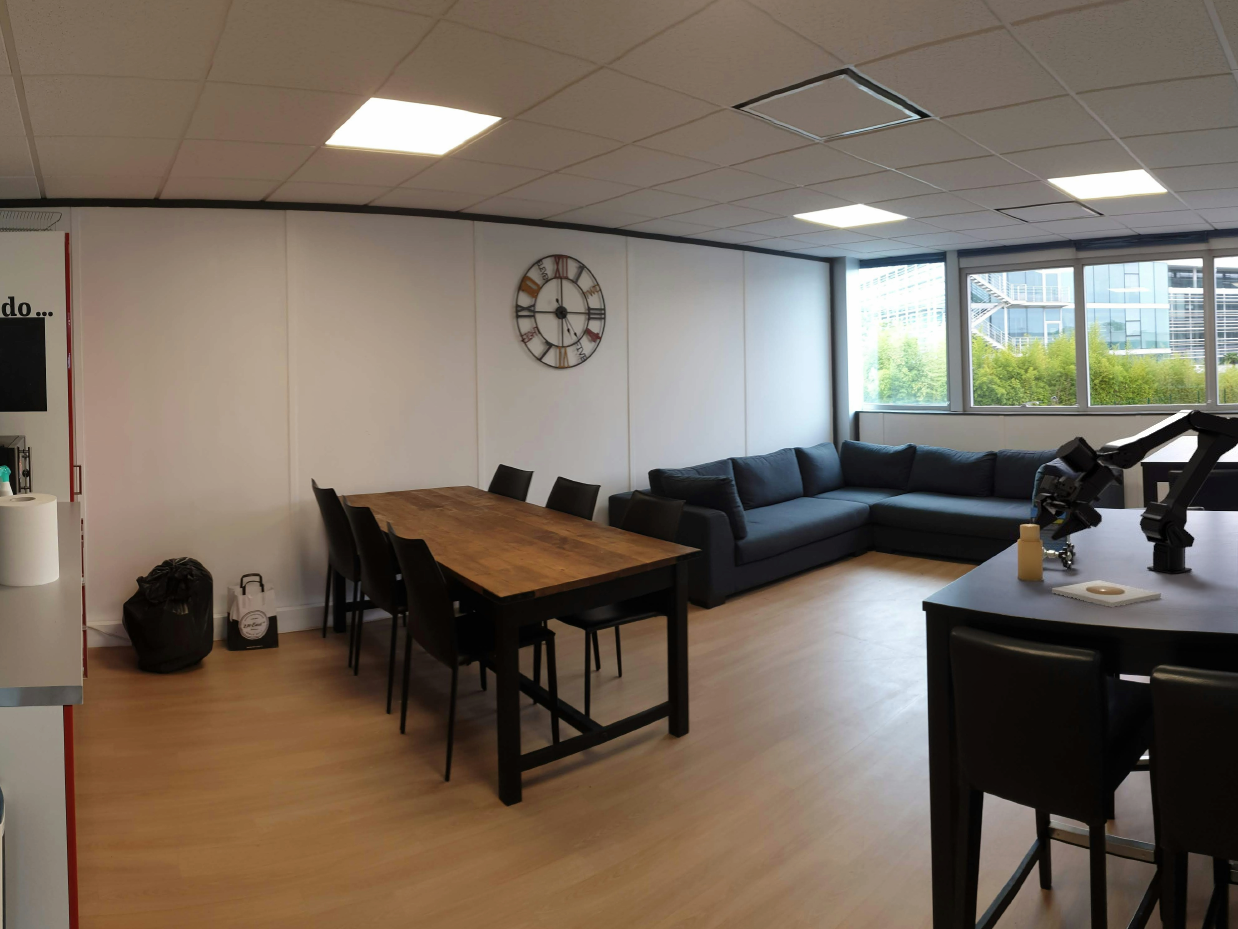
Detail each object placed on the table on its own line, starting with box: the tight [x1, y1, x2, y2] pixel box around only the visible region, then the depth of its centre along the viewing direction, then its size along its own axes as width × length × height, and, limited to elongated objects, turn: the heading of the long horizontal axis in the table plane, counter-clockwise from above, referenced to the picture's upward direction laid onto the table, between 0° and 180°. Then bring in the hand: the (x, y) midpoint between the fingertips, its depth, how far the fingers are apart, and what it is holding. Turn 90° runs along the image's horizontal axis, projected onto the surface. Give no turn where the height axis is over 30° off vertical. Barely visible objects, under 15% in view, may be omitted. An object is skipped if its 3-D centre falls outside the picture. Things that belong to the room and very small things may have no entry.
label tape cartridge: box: [1029, 506, 1071, 553], centre depth 213 cm, size 9×4×12 cm, turn 48°
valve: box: [1043, 542, 1077, 570], centre depth 198 cm, size 7×7×12 cm
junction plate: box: [1051, 579, 1162, 608], centre depth 169 cm, size 14×14×1 cm
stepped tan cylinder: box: [1016, 523, 1044, 582], centre depth 186 cm, size 5×5×12 cm
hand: (1041, 535), depth 186 cm, fingers open, 9 cm apart
